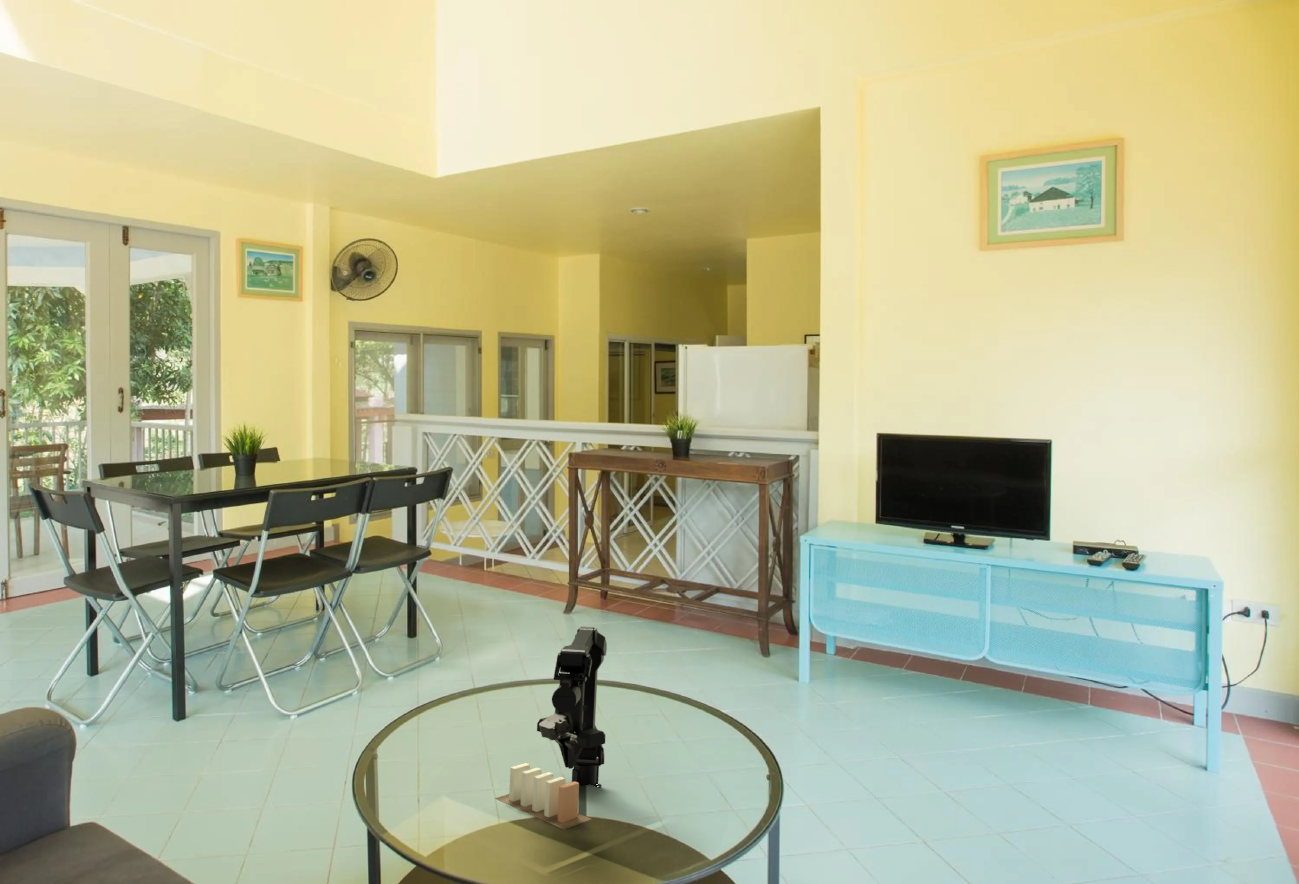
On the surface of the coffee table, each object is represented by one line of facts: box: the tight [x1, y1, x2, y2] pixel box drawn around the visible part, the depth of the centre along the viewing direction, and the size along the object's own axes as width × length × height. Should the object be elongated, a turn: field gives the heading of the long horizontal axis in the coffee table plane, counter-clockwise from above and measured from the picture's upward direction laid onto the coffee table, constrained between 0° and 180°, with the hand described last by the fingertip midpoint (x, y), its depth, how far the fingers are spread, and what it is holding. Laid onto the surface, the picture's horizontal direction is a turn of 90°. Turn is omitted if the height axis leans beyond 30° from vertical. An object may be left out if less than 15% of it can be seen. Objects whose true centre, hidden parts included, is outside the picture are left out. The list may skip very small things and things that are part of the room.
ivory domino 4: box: [544, 776, 567, 817], centre depth 196 cm, size 2×5×8 cm, turn 138°
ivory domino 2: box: [521, 767, 543, 807], centre depth 202 cm, size 2×5×8 cm, turn 138°
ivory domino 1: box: [508, 762, 531, 801], centre depth 205 cm, size 2×5×8 cm, turn 138°
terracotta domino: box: [558, 781, 580, 823], centre depth 194 cm, size 2×5×8 cm, turn 138°
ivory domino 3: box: [532, 771, 554, 812], centre depth 199 cm, size 2×5×8 cm, turn 138°
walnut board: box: [494, 793, 592, 830], centre depth 199 cm, size 26×9×1 cm, turn 48°
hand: (569, 767), depth 194 cm, fingers closed
